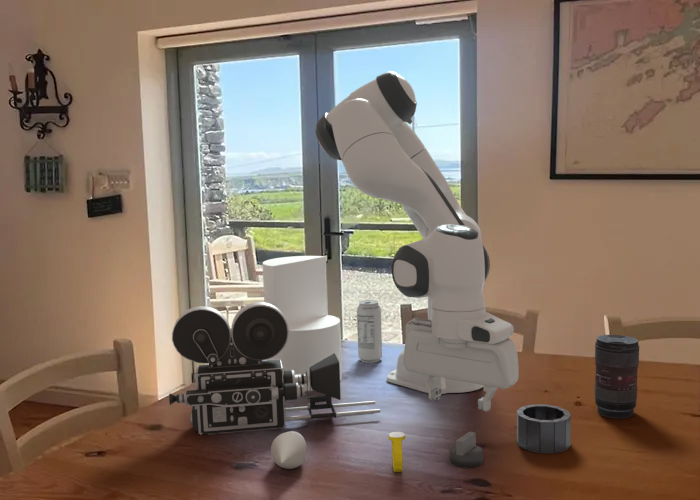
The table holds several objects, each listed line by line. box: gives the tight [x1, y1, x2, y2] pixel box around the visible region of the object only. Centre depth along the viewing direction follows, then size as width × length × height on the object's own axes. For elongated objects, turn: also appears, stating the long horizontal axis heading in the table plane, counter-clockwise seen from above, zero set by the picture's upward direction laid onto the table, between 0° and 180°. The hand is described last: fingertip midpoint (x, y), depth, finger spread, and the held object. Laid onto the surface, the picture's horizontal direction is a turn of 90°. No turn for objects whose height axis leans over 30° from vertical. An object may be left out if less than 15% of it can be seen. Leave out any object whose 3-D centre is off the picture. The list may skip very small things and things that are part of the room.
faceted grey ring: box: [516, 403, 572, 455], centre depth 132 cm, size 9×9×6 cm
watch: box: [387, 431, 406, 473], centre depth 123 cm, size 6×3×6 cm, turn 0°
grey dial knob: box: [448, 431, 484, 469], centre depth 126 cm, size 6×6×4 cm
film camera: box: [168, 301, 381, 436], centre depth 145 cm, size 40×12×24 cm, turn 99°
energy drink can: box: [356, 299, 383, 364], centre depth 188 cm, size 6×6×15 cm
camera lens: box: [594, 334, 640, 419], centre depth 146 cm, size 8×8×15 cm
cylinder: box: [262, 255, 343, 392], centre depth 172 cm, size 17×17×28 cm
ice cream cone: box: [270, 430, 308, 470], centre depth 124 cm, size 6×6×15 cm
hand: (459, 404), depth 125 cm, fingers open, 8 cm apart
